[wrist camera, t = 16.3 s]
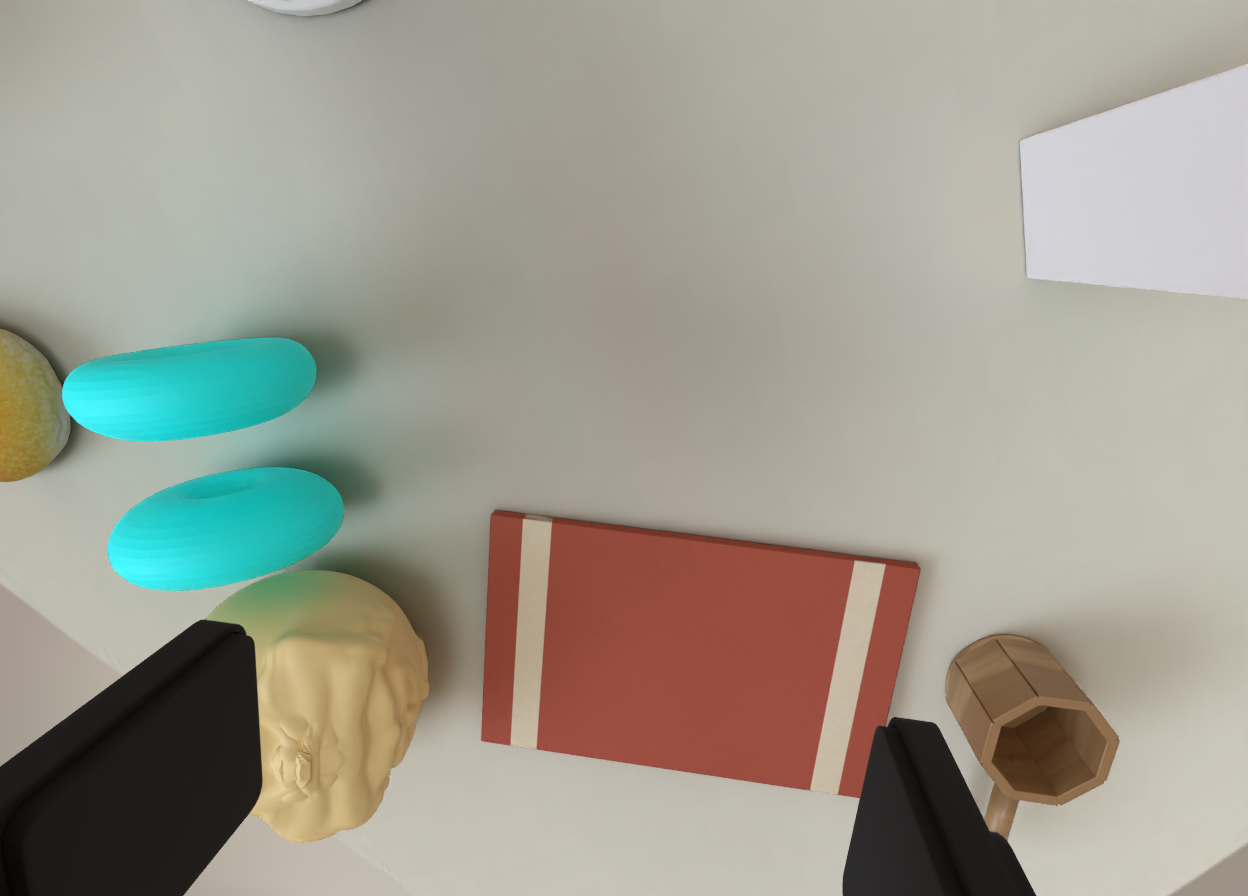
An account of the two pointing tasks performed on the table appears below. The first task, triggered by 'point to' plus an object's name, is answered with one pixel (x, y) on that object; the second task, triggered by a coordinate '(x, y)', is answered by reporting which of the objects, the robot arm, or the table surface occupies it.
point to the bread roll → (28, 410)
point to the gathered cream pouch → (328, 696)
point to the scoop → (1027, 725)
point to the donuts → (220, 503)
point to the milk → (1145, 193)
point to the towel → (691, 650)
